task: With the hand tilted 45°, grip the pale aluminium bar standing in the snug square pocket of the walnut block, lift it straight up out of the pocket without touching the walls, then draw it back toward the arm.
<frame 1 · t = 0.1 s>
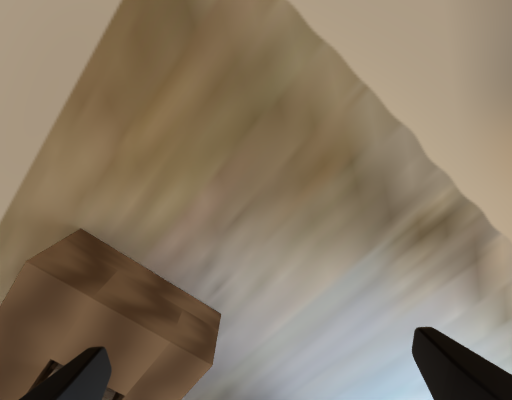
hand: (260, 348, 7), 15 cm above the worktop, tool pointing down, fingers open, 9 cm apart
walnut pocket block: (108, 344, 26), on the worktop
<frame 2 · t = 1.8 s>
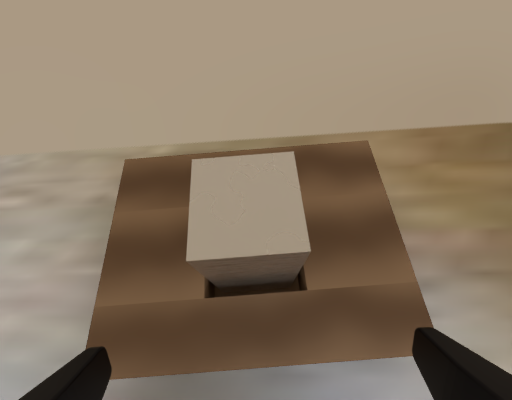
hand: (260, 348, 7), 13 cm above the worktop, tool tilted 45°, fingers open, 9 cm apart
aluminium bar: (254, 257, 20), point 2 cm above the worktop, touching walnut pocket block
walnut pocket block: (255, 263, 22), on the worktop
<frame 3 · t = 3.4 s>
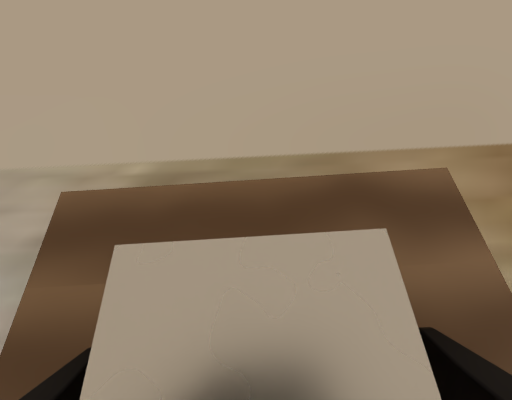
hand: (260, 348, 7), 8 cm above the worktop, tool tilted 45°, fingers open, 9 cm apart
aluminium bar: (263, 357, 12), point 2 cm above the worktop, touching walnut pocket block
walnut pocket block: (264, 354, 14), on the worktop
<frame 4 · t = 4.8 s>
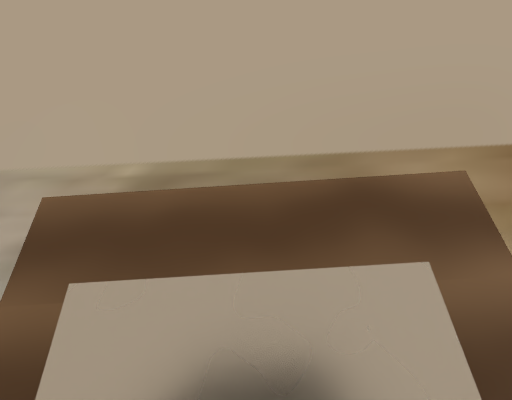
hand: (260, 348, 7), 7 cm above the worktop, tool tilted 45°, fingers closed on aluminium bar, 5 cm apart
aluminium bar: (264, 379, 11), point 2 cm above the worktop, touching gripper, walnut pocket block
walnut pocket block: (264, 373, 13), on the worktop
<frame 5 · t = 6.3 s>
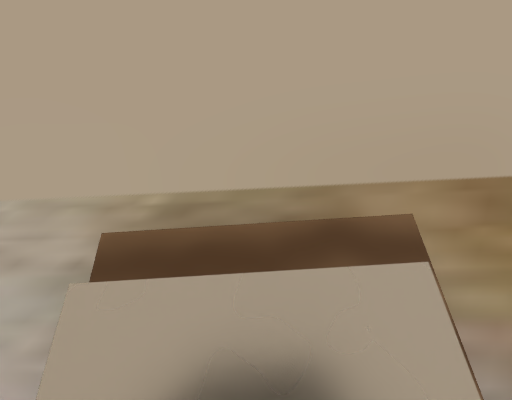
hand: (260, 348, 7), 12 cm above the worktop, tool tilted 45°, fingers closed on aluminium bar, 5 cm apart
aluminium bar: (264, 378, 11), point 7 cm above the worktop, touching gripper
walnut pocket block: (265, 362, 17), on the worktop
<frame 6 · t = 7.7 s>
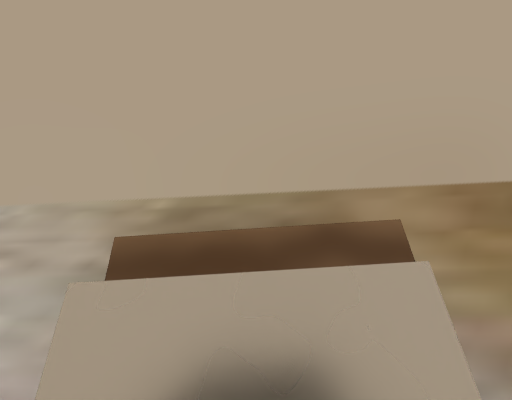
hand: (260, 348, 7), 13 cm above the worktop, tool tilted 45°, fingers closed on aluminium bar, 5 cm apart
aluminium bar: (264, 378, 11), point 8 cm above the worktop, touching gripper
walnut pocket block: (265, 356, 19), on the worktop
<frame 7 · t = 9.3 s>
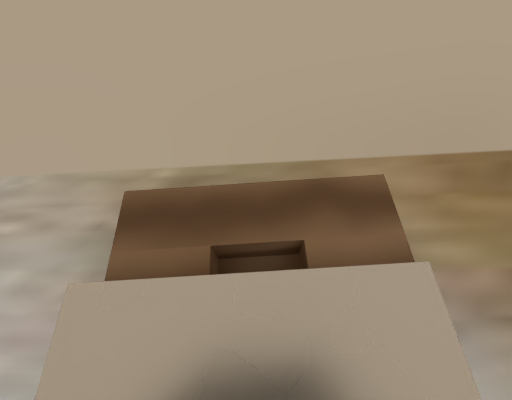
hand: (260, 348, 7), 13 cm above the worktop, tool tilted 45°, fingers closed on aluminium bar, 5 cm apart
aluminium bar: (264, 378, 11), point 8 cm above the worktop, touching gripper
walnut pocket block: (261, 302, 20), on the worktop
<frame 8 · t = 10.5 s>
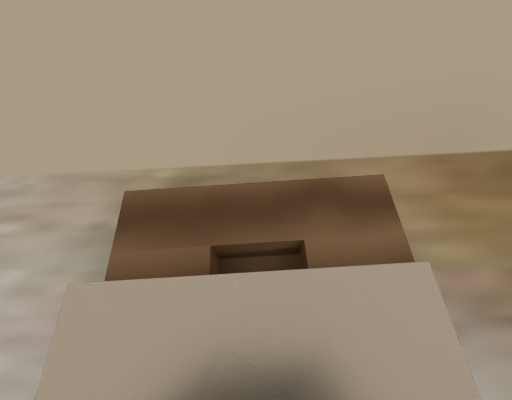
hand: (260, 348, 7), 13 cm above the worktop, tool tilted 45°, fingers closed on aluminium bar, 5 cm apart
aluminium bar: (264, 378, 11), point 8 cm above the worktop, touching gripper
walnut pocket block: (261, 302, 20), on the worktop
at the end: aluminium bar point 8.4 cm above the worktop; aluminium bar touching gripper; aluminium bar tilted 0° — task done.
